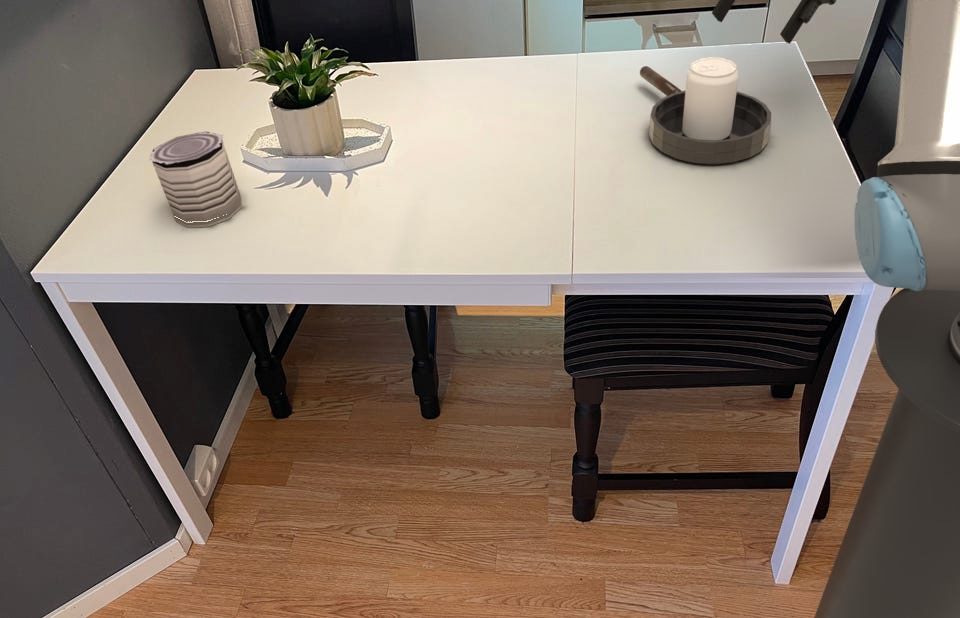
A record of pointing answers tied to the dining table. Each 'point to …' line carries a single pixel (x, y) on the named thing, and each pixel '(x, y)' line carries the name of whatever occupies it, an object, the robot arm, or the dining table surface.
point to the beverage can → (710, 99)
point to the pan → (739, 145)
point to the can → (197, 179)
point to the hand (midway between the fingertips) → (749, 28)
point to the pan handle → (658, 81)
